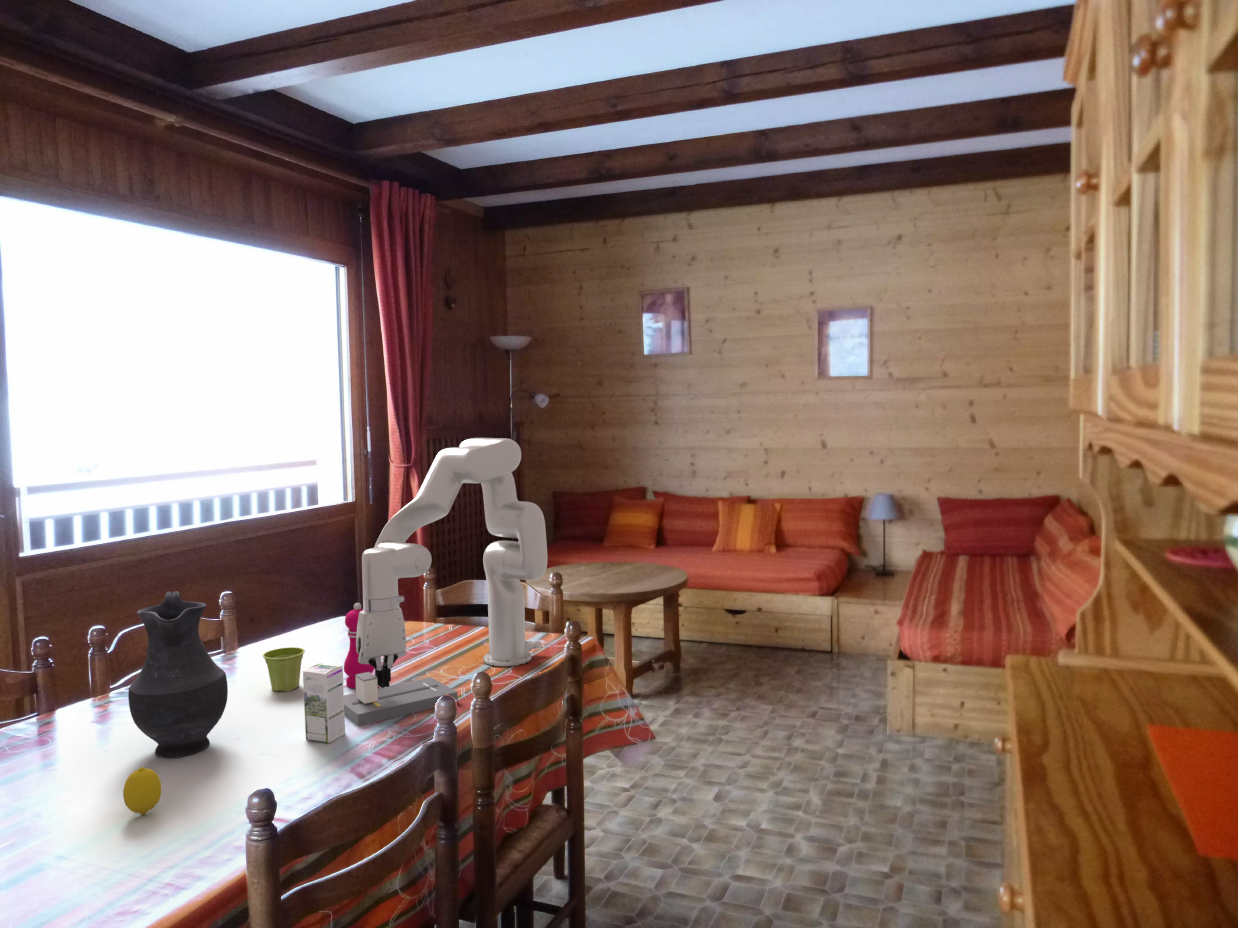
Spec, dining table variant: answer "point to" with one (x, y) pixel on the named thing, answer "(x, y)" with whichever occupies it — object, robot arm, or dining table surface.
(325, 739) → the syrup box
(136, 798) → the lemon
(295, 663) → the plant pot
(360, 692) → the block
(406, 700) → the console
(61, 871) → the dining table surface
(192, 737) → the pitcher
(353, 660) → the pepper mill
